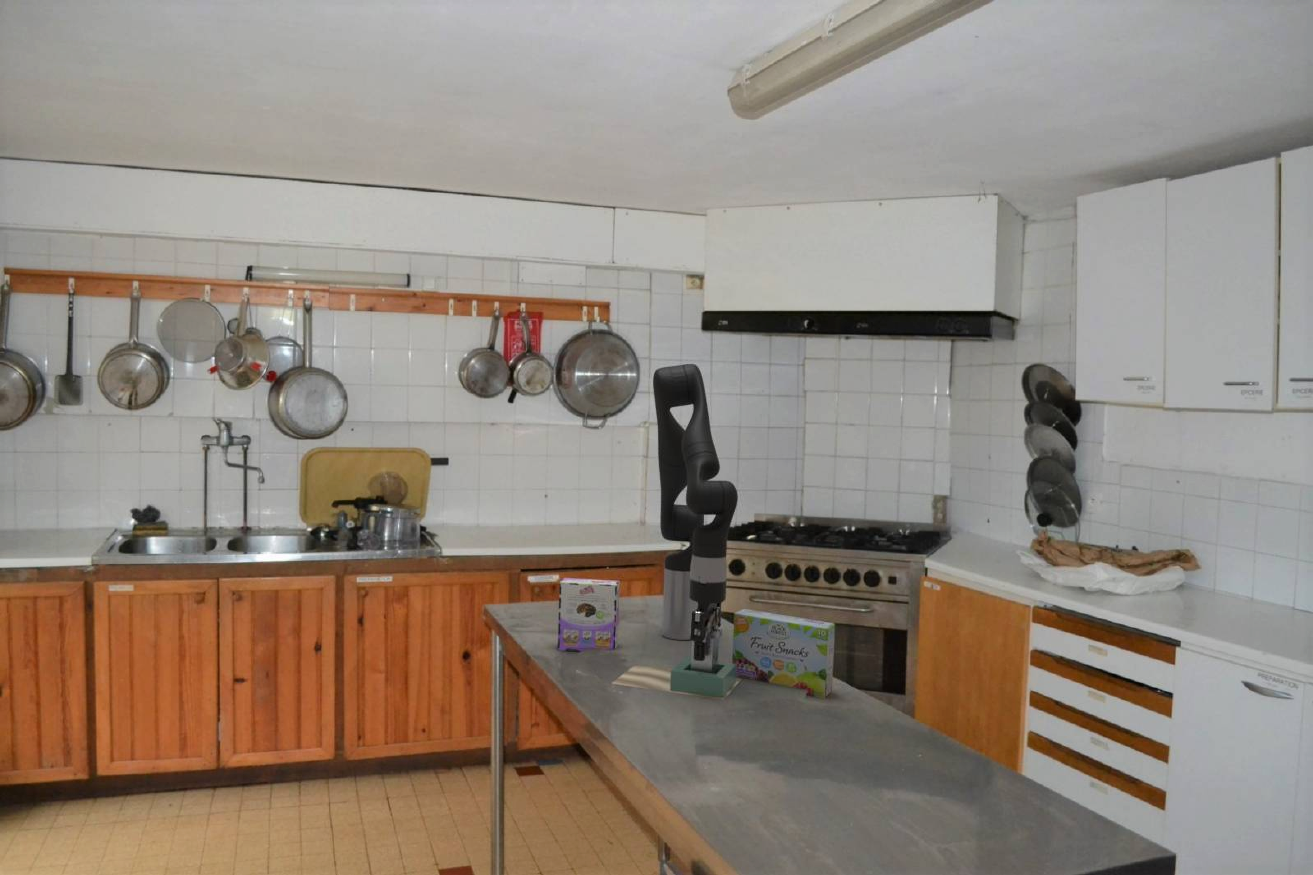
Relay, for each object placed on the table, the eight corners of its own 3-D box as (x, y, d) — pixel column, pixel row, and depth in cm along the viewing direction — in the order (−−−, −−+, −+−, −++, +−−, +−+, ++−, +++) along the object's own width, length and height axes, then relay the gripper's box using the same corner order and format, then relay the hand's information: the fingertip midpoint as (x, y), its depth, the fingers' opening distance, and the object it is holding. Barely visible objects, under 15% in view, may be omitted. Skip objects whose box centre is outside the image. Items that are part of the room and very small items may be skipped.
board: (635, 669, 213) (636, 664, 213) (741, 684, 205) (741, 679, 205) (610, 689, 199) (611, 683, 199) (723, 705, 191) (723, 699, 191)
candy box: (618, 648, 230) (620, 579, 229) (614, 654, 224) (617, 584, 224) (561, 644, 232) (563, 576, 231) (556, 650, 226) (558, 581, 225)
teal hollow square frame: (686, 675, 206) (686, 657, 206) (736, 682, 202) (736, 663, 202) (670, 690, 196) (670, 671, 195) (722, 698, 192) (723, 678, 192)
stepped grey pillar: (691, 681, 202) (694, 624, 202) (721, 685, 200) (723, 628, 200) (685, 687, 198) (687, 629, 198) (715, 691, 196) (717, 633, 195)
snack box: (729, 681, 207) (732, 612, 207) (740, 675, 212) (743, 607, 212) (824, 699, 198) (828, 627, 197) (833, 692, 203) (836, 621, 202)
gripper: (700, 569, 206) (697, 644, 207) (680, 581, 192) (677, 661, 193) (734, 573, 203) (731, 648, 204) (716, 585, 190) (713, 666, 191)
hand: (705, 654), depth 199 cm, fingers open, 8 cm apart
